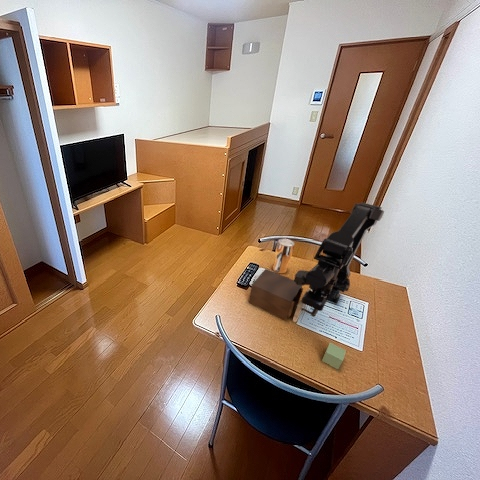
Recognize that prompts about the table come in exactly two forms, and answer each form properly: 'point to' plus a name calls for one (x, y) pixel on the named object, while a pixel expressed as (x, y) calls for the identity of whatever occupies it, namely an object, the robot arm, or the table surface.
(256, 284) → the cabinet
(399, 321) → the table surface
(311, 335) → the table surface
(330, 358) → the block
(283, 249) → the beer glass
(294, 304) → the drawer
